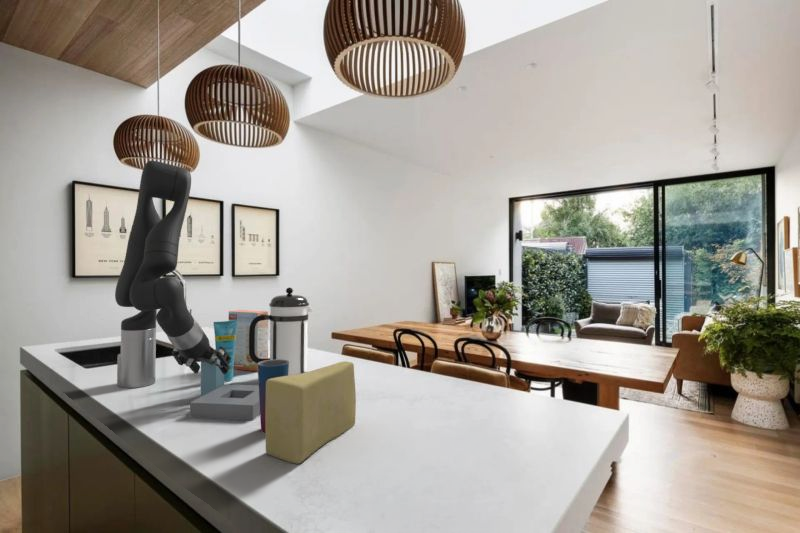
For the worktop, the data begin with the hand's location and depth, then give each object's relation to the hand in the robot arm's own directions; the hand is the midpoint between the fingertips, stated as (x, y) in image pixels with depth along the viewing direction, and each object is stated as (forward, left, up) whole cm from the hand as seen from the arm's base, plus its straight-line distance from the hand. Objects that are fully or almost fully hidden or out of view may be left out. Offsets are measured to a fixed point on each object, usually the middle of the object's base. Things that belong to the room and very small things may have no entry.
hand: (211, 370), depth 118 cm
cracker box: (-5, +32, -7) cm, 34 cm away
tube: (-5, +16, -7) cm, 19 cm away
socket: (+12, -9, -7) cm, 16 cm away
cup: (+27, -22, -7) cm, 35 cm away
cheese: (+39, -26, -7) cm, 48 cm away
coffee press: (+13, +21, -7) cm, 26 cm away
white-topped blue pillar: (0, 0, -7) cm, 7 cm away
